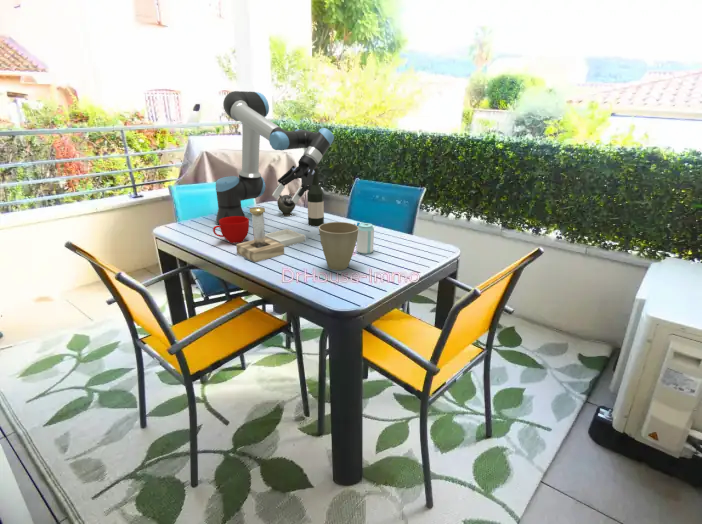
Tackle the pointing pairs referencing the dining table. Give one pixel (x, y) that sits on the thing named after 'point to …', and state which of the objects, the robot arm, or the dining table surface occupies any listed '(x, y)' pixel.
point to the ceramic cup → (233, 228)
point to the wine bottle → (315, 202)
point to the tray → (286, 237)
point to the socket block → (260, 250)
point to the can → (365, 238)
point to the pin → (258, 226)
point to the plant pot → (338, 243)
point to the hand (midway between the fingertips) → (283, 199)
